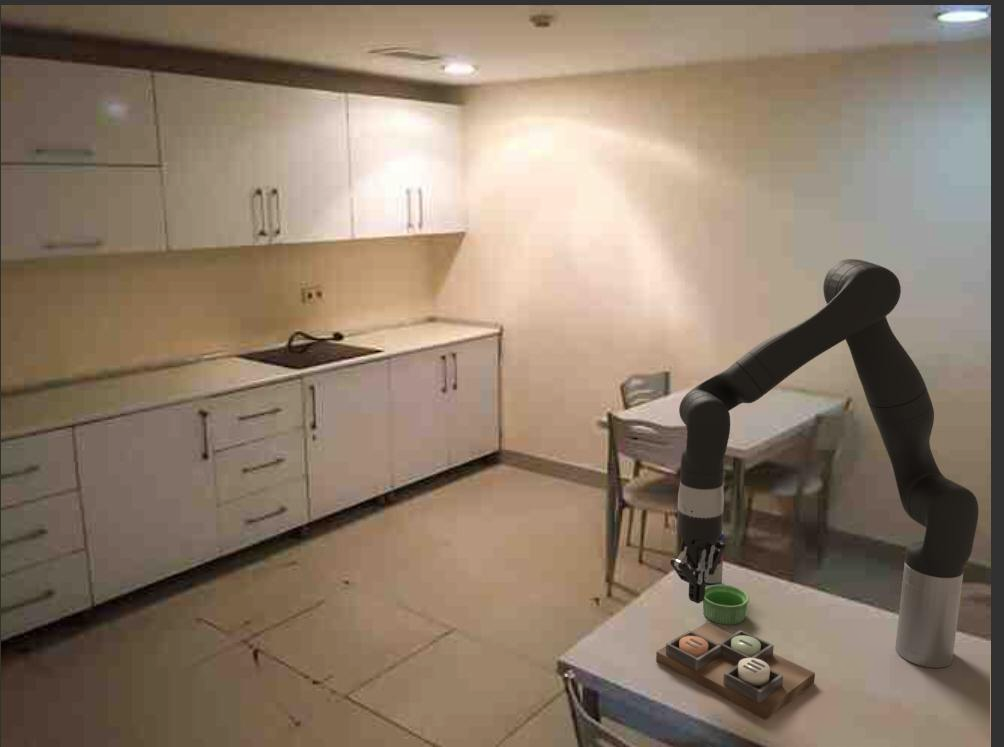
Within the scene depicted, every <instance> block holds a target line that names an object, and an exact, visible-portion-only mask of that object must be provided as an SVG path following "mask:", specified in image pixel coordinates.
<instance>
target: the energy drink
mask: <svg viewBox="0 0 1004 747" xmlns="http://www.w3.org/2000/svg"><path fill="white" fill-rule="evenodd" d="M718 541H719V542H722V543H724V544H725V533H724V530H723V529H722V535H721V536H720V537H719V538H718ZM712 562H713V560H712ZM723 566H724V553H723V554H722V556H721V558H720V561H719V563H718V565H717V567H716V570H715V572H714V574H713V575H710V574H709V577H708V580H707V581H706V585H705V588H706V587H708V586H711V585H722V582H723V569H724V568H723Z"/></svg>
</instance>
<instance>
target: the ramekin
mask: <svg viewBox="0 0 1004 747" xmlns="http://www.w3.org/2000/svg"><path fill="white" fill-rule="evenodd" d="M749 600H750V597H749V596H748V594H747V592H745V591H744V590H743V589H740V588H739V587H736V586H733V585H728V584H721V585H711V586H708V587H705V599H704V601H702V609H703V610H702V611H703V614H704V617H705V618H707V619H708V620H710V622H711V621H712V622H713V623H716V624H720V625H726V626H730V625H731V626H732V625H737V624H740V623H742V622H743V621H744V620H745V618H746V613H747V607H748V604H749Z"/></svg>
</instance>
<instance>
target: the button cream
mask: <svg viewBox="0 0 1004 747" xmlns="http://www.w3.org/2000/svg"><path fill="white" fill-rule="evenodd" d="M769 676H770V667H769V665H768V664H767V663H766V662H764V661H762V660H759V659H756V658H744V659H742V660H740V661H739V663H738V678H739V679H740V680H742V681H744V682H746V683H748V684H750V685H752V686H763V685H766V684H767V683H768V682H769Z"/></svg>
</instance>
